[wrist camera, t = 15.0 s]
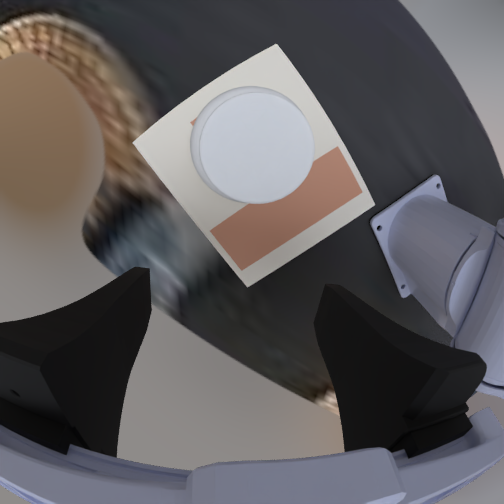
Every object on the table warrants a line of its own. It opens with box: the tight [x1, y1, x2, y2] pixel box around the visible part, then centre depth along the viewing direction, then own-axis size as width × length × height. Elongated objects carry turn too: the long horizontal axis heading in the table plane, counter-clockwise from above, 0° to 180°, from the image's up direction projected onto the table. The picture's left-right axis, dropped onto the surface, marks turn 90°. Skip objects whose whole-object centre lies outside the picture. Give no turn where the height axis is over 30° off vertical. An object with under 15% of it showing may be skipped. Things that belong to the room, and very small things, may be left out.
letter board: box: [133, 44, 375, 287], centre depth 19 cm, size 14×12×1 cm
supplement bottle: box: [190, 86, 315, 204], centre depth 13 cm, size 5×5×10 cm
